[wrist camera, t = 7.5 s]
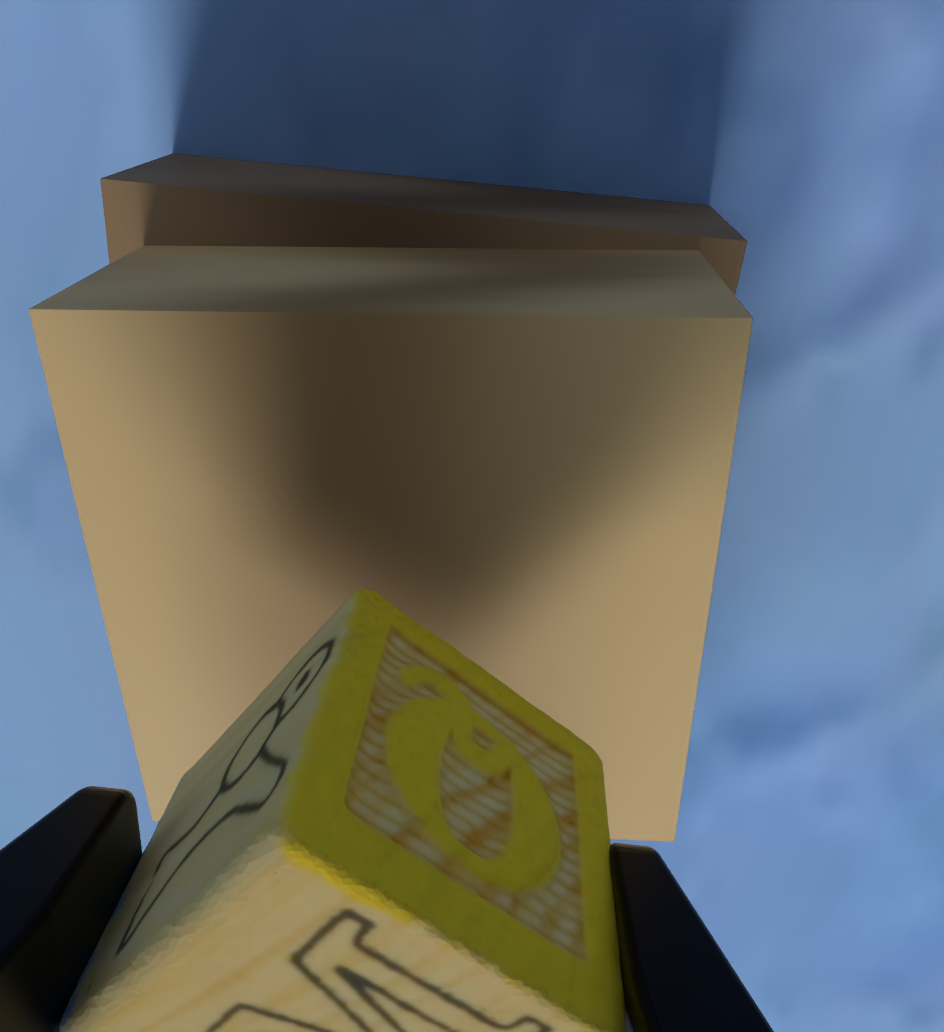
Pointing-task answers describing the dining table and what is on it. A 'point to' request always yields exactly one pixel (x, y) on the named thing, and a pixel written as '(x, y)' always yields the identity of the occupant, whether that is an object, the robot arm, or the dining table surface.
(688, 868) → the dining table surface
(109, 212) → the tan wooden flat block
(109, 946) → the alphabet block
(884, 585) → the dining table surface
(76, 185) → the dining table surface
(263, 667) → the oak top slab
